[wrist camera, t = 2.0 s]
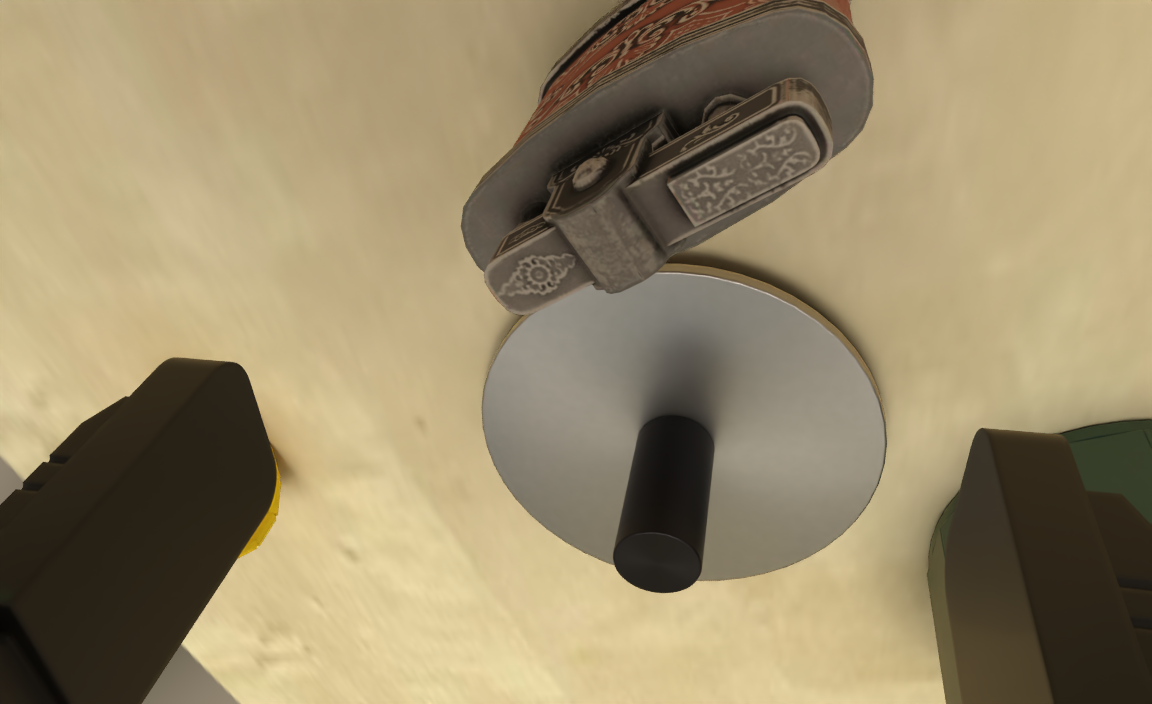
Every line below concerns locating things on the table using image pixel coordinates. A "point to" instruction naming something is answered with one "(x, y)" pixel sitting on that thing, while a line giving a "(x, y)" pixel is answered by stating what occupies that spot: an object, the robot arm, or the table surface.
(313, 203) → the table surface
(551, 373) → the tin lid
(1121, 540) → the robot arm
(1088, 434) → the tin
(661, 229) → the lighter
